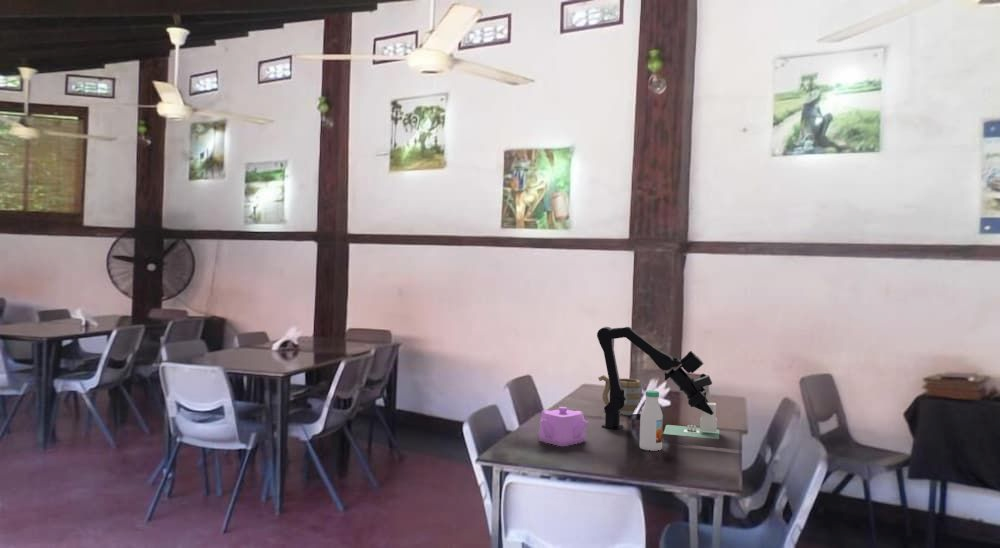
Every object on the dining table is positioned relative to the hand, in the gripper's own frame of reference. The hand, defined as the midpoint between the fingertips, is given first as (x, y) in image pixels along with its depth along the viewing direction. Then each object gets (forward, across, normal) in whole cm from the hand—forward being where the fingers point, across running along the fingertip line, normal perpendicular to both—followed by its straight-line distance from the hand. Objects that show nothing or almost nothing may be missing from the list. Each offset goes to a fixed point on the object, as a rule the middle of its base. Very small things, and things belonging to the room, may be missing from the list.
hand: (712, 412), depth 261 cm
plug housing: (+4, 0, +6) cm, 7 cm away
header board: (+1, 0, +12) cm, 12 cm away
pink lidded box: (-29, -30, +43) cm, 60 cm away
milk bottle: (-8, -27, +21) cm, 35 cm away
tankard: (-21, +32, +34) cm, 52 cm away
